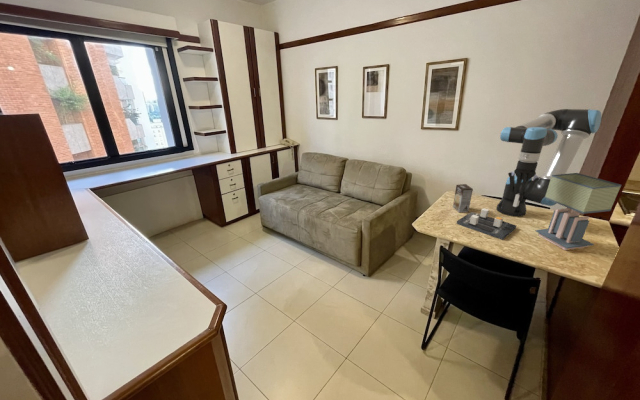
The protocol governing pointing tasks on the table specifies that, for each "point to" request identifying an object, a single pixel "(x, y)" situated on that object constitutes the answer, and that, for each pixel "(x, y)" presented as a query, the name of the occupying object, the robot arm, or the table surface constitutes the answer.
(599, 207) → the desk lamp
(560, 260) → the table surface
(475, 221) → the block
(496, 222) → the block
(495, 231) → the panel
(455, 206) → the coffee box
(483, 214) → the block
